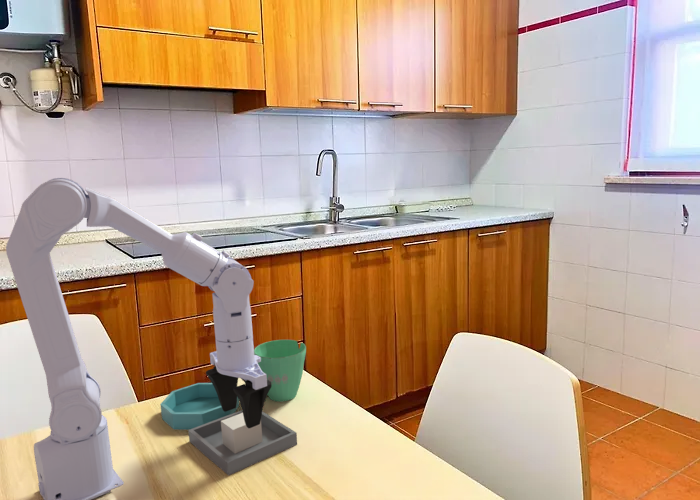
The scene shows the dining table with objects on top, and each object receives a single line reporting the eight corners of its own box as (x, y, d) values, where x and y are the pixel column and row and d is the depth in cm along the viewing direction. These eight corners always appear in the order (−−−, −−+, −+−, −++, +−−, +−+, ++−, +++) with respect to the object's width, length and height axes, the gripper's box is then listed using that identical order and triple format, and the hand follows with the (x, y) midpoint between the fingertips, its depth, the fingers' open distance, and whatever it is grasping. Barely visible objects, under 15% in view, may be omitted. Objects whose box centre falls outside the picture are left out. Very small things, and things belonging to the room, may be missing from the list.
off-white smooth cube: (234, 453, 85) (232, 429, 85) (222, 443, 88) (220, 420, 88) (262, 441, 88) (260, 418, 88) (249, 432, 92) (248, 410, 91)
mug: (314, 388, 109) (311, 340, 107) (300, 411, 100) (297, 359, 98) (245, 384, 112) (241, 338, 110) (225, 406, 103) (220, 356, 101)
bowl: (183, 439, 91) (181, 421, 90) (154, 414, 101) (152, 397, 100) (249, 414, 99) (248, 397, 98) (217, 393, 109) (215, 377, 108)
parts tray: (228, 478, 80) (227, 462, 79) (189, 444, 90) (188, 430, 89) (297, 447, 87) (296, 432, 87) (254, 418, 97) (253, 405, 97)
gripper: (281, 340, 82) (287, 424, 85) (234, 320, 93) (240, 395, 96) (239, 353, 78) (247, 441, 80) (195, 330, 89) (203, 408, 91)
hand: (241, 417), depth 88 cm, fingers open, 7 cm apart
